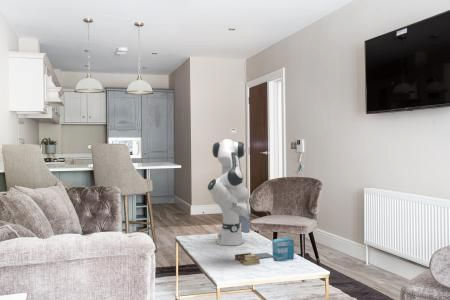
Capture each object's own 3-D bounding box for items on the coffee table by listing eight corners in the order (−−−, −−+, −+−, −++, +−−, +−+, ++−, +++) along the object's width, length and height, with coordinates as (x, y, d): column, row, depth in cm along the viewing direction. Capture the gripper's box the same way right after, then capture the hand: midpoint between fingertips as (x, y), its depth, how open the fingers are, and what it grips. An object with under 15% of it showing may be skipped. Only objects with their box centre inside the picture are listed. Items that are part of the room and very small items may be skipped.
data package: (276, 261, 263) (275, 240, 263) (272, 259, 267) (272, 239, 267) (294, 259, 268) (293, 238, 267) (290, 257, 272) (289, 237, 272)
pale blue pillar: (241, 231, 268) (240, 209, 268) (245, 231, 269) (245, 209, 269) (244, 233, 263) (244, 210, 263) (249, 232, 264) (249, 210, 264)
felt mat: (250, 255, 278) (250, 254, 278) (266, 253, 282) (266, 252, 282) (257, 259, 269) (257, 258, 269) (274, 257, 273) (274, 256, 273)
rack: (234, 259, 269) (234, 254, 269) (250, 257, 273) (250, 252, 273) (241, 263, 260) (240, 258, 260) (257, 261, 264) (256, 256, 264)
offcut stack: (242, 263, 260) (242, 255, 260) (256, 261, 263) (256, 254, 263) (245, 265, 256) (245, 257, 255) (260, 263, 259) (259, 255, 259)
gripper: (240, 200, 254) (256, 216, 257) (227, 196, 273) (242, 211, 277) (233, 208, 252) (249, 224, 256) (220, 204, 271) (236, 219, 275)
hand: (246, 217), depth 266 cm, fingers closed on pale blue pillar, 5 cm apart
